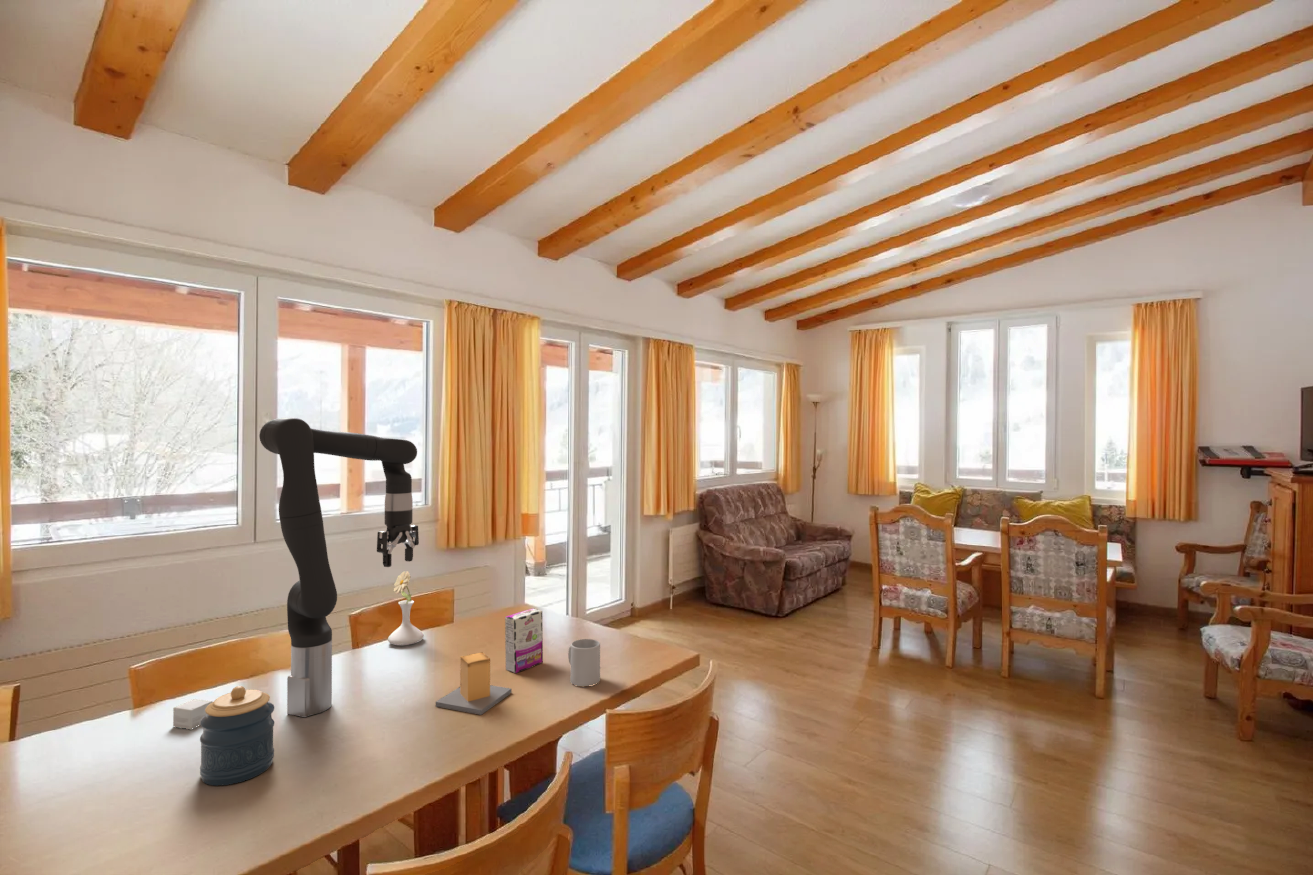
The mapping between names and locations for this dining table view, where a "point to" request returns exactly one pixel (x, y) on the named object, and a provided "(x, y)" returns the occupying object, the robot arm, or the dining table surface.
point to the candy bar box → (523, 640)
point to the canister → (236, 737)
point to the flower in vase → (405, 616)
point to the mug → (584, 662)
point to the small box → (189, 713)
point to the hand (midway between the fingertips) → (398, 563)
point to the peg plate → (474, 706)
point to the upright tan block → (475, 676)
